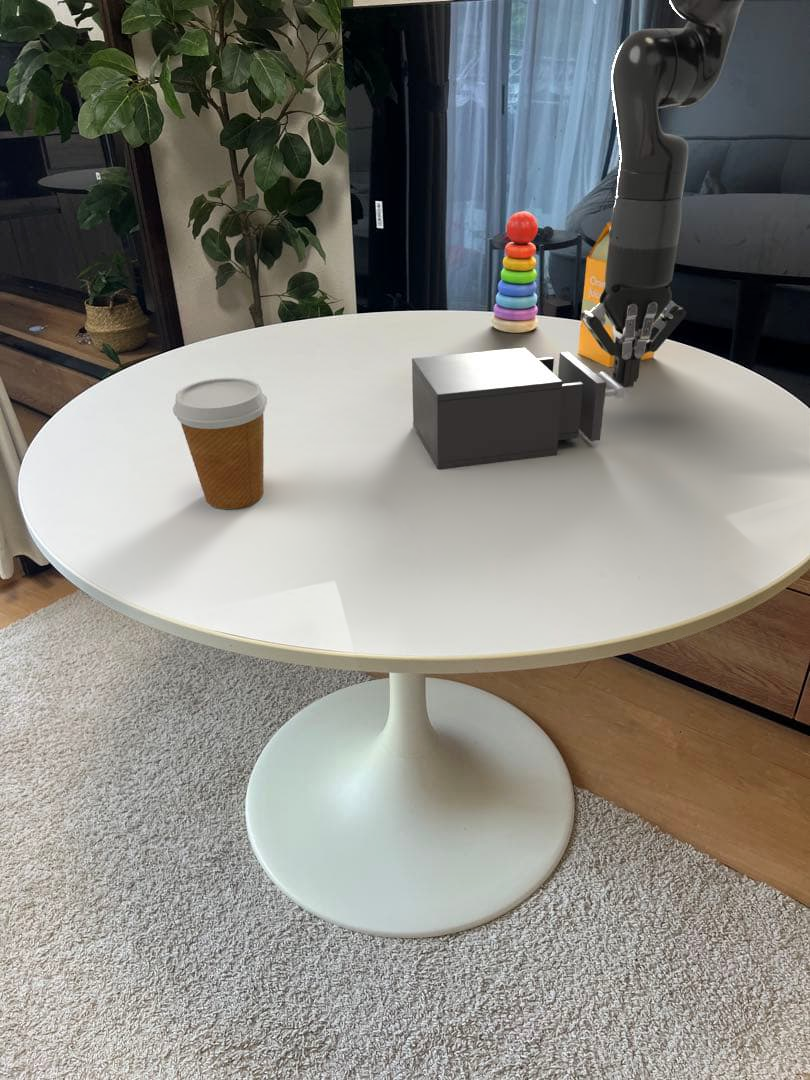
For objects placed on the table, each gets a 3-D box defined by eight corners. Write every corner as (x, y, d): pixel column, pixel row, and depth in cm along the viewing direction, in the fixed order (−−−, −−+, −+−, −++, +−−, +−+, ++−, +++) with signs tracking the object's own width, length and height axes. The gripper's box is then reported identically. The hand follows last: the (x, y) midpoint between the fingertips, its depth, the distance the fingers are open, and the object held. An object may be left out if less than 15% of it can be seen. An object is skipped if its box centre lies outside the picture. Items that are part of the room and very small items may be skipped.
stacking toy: (498, 335, 133) (502, 217, 123) (486, 322, 139) (490, 209, 130) (543, 332, 134) (551, 214, 124) (529, 319, 140) (536, 206, 131)
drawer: (593, 402, 104) (599, 348, 101) (632, 436, 95) (640, 378, 91) (465, 416, 101) (466, 361, 98) (492, 453, 92) (494, 394, 88)
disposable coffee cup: (186, 484, 89) (166, 383, 83) (269, 470, 92) (256, 371, 85) (195, 524, 81) (175, 416, 75) (286, 507, 84) (273, 401, 78)
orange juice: (654, 357, 121) (674, 219, 111) (608, 367, 118) (625, 226, 108) (620, 343, 127) (637, 211, 117) (576, 353, 124) (589, 218, 114)
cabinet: (521, 414, 104) (524, 347, 99) (556, 454, 93) (562, 381, 88) (413, 426, 101) (411, 358, 97) (437, 469, 91) (437, 394, 86)
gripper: (602, 249, 85) (586, 401, 94) (714, 241, 87) (688, 390, 96) (575, 236, 91) (562, 380, 100) (680, 229, 93) (659, 370, 102)
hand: (624, 385), depth 98 cm, fingers closed
